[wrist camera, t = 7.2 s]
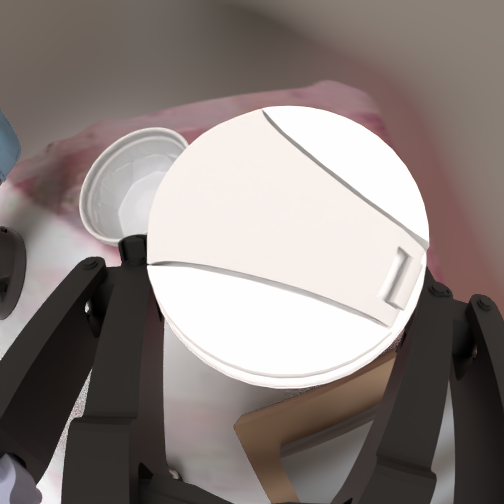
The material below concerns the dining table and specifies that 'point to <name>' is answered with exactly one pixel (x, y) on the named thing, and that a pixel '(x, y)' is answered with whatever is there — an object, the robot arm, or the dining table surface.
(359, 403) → the two-tone square platform
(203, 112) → the dining table surface
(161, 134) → the ramekin
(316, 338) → the paper cup
